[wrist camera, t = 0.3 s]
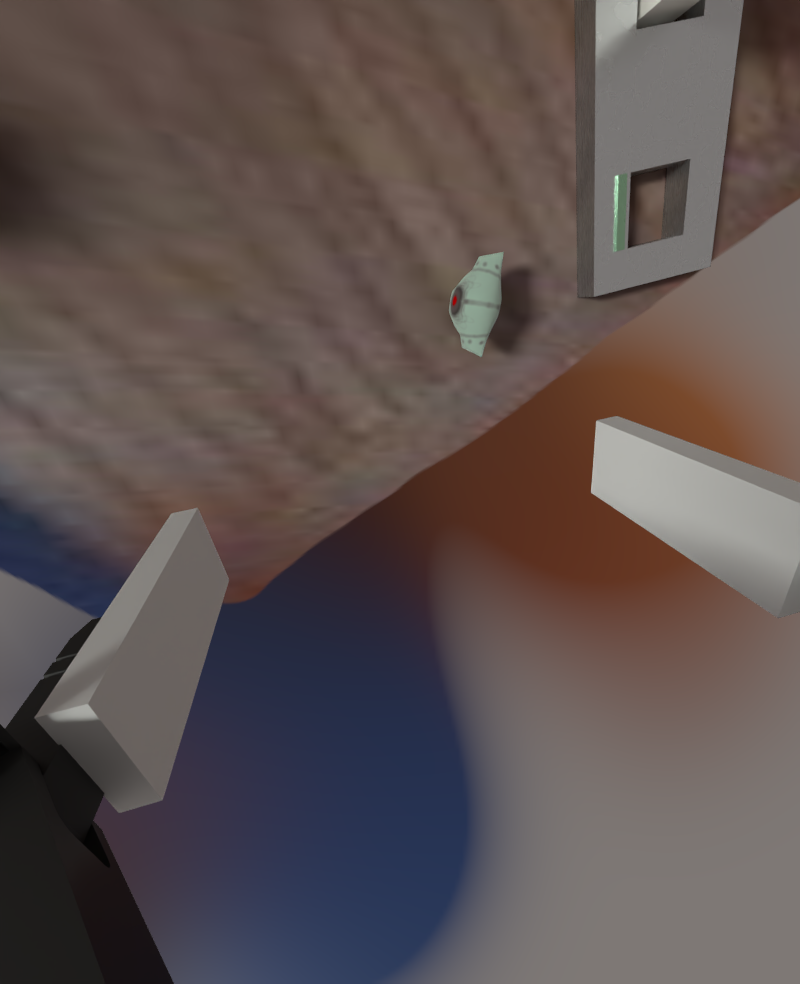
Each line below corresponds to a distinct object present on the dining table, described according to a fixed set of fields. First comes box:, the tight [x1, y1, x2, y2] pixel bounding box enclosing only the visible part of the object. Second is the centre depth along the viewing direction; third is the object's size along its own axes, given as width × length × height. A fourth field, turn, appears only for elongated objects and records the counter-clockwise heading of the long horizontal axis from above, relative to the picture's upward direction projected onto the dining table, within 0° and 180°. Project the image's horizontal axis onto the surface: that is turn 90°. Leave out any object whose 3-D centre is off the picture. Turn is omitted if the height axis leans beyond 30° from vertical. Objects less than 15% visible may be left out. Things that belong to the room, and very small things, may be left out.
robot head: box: [449, 252, 504, 357], centre depth 34 cm, size 8×4×7 cm, turn 172°
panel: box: [575, 0, 744, 297], centre depth 32 cm, size 26×12×3 cm, turn 13°
